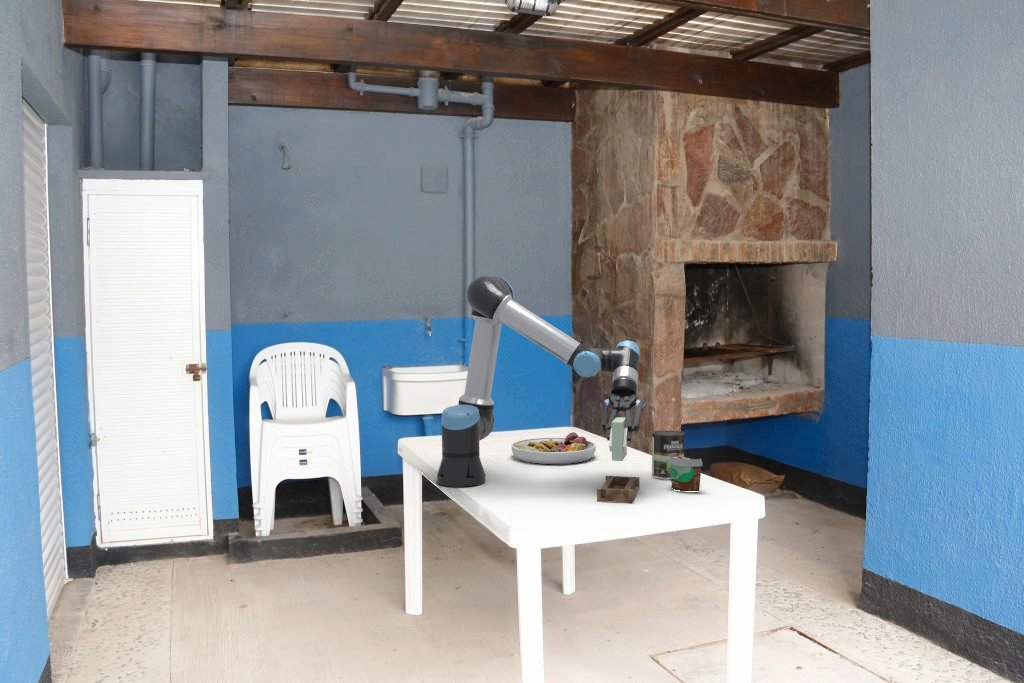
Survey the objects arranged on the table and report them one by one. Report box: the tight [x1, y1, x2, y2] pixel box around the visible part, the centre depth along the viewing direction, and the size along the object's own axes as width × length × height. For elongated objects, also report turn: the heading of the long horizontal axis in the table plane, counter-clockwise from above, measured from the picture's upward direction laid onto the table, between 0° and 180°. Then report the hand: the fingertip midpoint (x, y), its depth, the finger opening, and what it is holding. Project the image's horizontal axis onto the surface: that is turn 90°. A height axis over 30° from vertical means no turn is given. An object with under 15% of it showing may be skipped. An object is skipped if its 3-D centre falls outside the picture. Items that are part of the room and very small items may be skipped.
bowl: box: [511, 431, 597, 465], centre depth 304 cm, size 30×30×8 cm
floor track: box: [596, 475, 641, 503], centre depth 247 cm, size 10×18×4 cm, turn 165°
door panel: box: [611, 416, 628, 462], centre depth 246 cm, size 3×10×11 cm, turn 165°
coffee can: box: [651, 429, 686, 480], centre depth 271 cm, size 10×10×14 cm
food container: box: [668, 453, 704, 492], centre depth 252 cm, size 12×6×10 cm, turn 29°
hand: (617, 448), depth 243 cm, fingers closed on door panel, 3 cm apart
